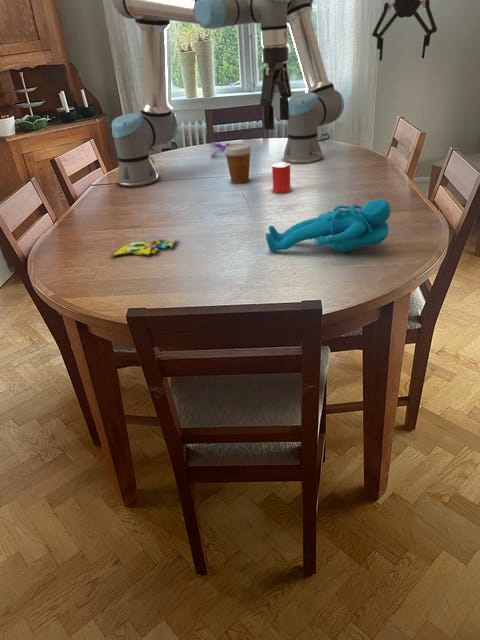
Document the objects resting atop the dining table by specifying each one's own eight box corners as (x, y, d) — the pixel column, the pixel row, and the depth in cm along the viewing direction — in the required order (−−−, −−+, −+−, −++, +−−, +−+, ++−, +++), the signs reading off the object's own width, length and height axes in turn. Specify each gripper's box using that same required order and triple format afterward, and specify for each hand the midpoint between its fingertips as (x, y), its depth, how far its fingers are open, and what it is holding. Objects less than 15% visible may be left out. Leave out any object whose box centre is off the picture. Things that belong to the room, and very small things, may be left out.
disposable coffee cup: (222, 184, 172) (219, 149, 166) (233, 176, 180) (230, 142, 173) (247, 185, 169) (245, 150, 163) (256, 177, 176) (254, 143, 170)
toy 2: (270, 213, 128) (386, 185, 117) (281, 248, 133) (393, 225, 122) (259, 239, 114) (389, 210, 104) (272, 277, 119) (397, 254, 109)
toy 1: (167, 253, 124) (112, 254, 126) (167, 256, 124) (112, 257, 126) (176, 237, 132) (124, 238, 134) (176, 240, 133) (125, 241, 135)
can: (273, 194, 160) (271, 167, 155) (273, 188, 164) (272, 162, 160) (290, 193, 159) (290, 166, 154) (290, 187, 164) (290, 161, 159)
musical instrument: (233, 161, 200) (257, 143, 213) (232, 156, 199) (256, 138, 211) (189, 161, 213) (214, 143, 225) (188, 156, 212) (212, 139, 224)
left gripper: (271, 50, 128) (274, 133, 139) (300, 42, 146) (301, 116, 158) (245, 51, 131) (250, 133, 142) (277, 43, 149) (279, 116, 161)
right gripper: (366, -14, 151) (362, 62, 163) (452, -23, 144) (441, 57, 156) (368, -14, 157) (364, 59, 168) (450, -22, 150) (440, 55, 162)
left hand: (277, 124), depth 150 cm, fingers open, 13 cm apart
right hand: (401, 59), depth 162 cm, fingers open, 13 cm apart
